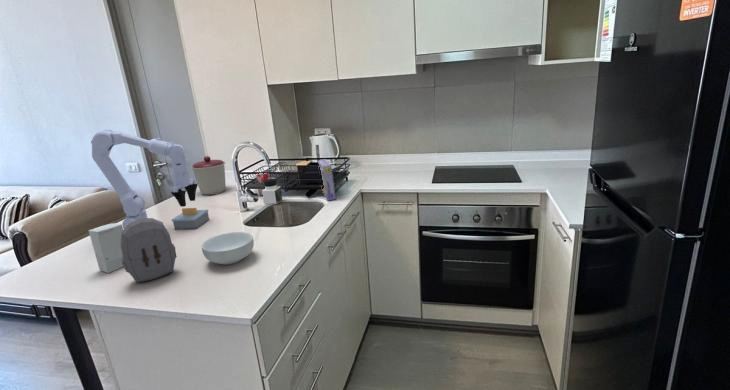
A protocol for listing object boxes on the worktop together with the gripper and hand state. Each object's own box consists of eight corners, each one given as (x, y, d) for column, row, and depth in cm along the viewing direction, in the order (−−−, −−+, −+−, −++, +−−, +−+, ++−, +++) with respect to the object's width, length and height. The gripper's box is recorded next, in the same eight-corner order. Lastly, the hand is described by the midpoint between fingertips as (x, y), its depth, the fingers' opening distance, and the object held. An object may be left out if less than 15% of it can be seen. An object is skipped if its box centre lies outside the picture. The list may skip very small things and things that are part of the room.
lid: (195, 222, 162) (193, 212, 160) (172, 222, 163) (169, 213, 162) (208, 212, 173) (207, 203, 171) (186, 213, 174) (185, 204, 173)
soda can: (256, 195, 206) (252, 174, 203) (265, 192, 212) (262, 170, 208) (266, 196, 203) (262, 174, 199) (275, 192, 209) (272, 171, 205)
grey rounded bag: (177, 265, 130) (164, 209, 124) (183, 274, 123) (169, 215, 117) (127, 281, 121) (110, 222, 116) (130, 291, 115) (112, 229, 109)
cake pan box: (320, 191, 205) (317, 159, 200) (330, 190, 206) (326, 158, 201) (326, 201, 187) (322, 166, 182) (336, 200, 188) (333, 165, 183)
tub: (196, 228, 163) (194, 220, 162) (174, 229, 164) (172, 220, 163) (209, 219, 173) (207, 211, 172) (188, 220, 174) (186, 212, 173)
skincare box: (108, 273, 127) (96, 232, 123) (98, 270, 130) (86, 230, 126) (133, 262, 134) (122, 223, 130) (123, 260, 137) (112, 221, 133)
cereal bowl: (261, 261, 128) (258, 242, 126) (209, 276, 120) (205, 256, 118) (249, 245, 142) (246, 227, 140) (202, 257, 135) (198, 238, 133)
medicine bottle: (276, 204, 189) (273, 180, 185) (263, 204, 190) (259, 180, 187) (282, 199, 196) (279, 176, 192) (269, 199, 197) (266, 177, 194)
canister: (219, 197, 209) (212, 159, 203) (190, 197, 212) (182, 160, 206) (236, 187, 226) (229, 152, 220) (208, 188, 229) (201, 153, 223)
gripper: (180, 176, 154) (187, 208, 158) (199, 168, 168) (205, 197, 172) (164, 177, 155) (171, 209, 159) (184, 169, 169) (190, 198, 173)
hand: (188, 203), depth 166 cm, fingers open, 7 cm apart
